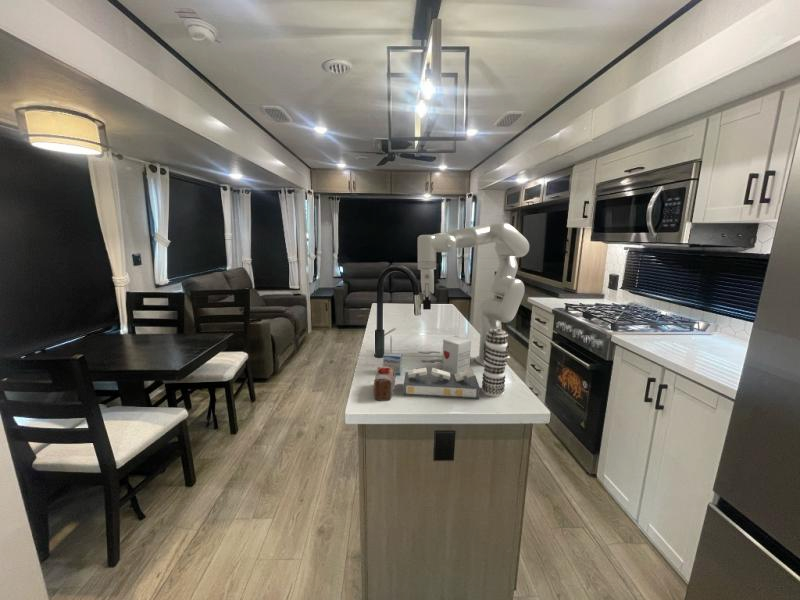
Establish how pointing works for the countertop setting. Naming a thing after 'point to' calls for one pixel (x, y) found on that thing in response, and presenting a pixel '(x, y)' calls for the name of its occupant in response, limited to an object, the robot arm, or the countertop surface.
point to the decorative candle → (494, 362)
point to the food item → (384, 383)
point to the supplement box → (456, 354)
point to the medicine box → (393, 362)
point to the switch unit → (441, 386)
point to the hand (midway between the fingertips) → (426, 308)
